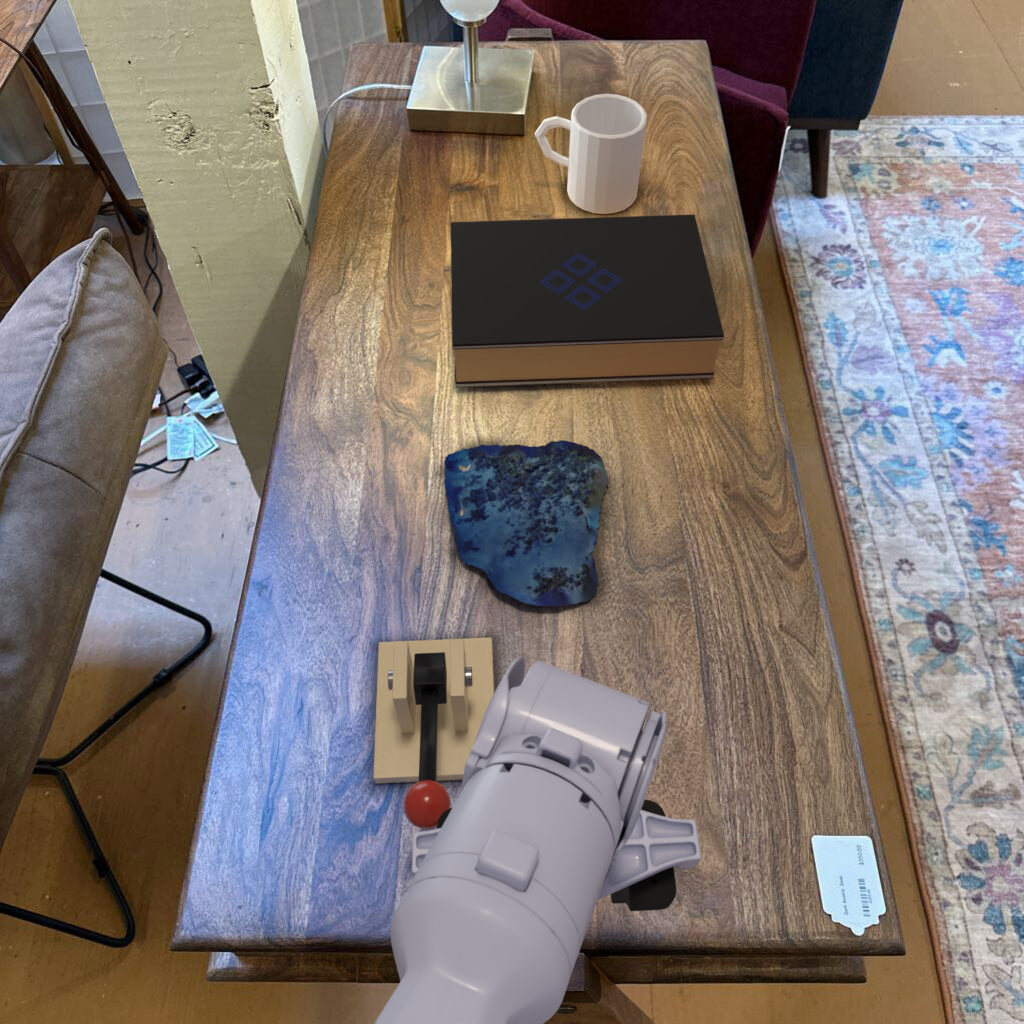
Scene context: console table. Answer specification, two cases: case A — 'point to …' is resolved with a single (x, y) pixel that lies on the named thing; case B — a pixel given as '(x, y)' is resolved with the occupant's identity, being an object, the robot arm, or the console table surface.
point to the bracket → (455, 718)
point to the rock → (529, 517)
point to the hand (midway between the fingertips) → (550, 887)
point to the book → (581, 301)
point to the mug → (601, 151)
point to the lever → (428, 742)
